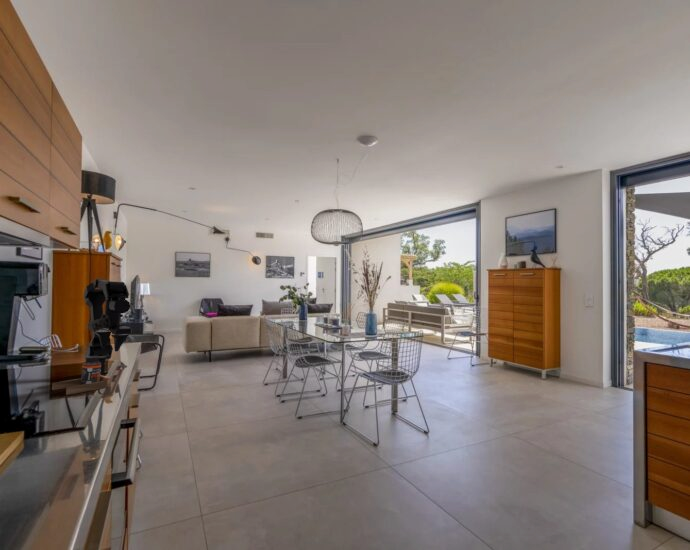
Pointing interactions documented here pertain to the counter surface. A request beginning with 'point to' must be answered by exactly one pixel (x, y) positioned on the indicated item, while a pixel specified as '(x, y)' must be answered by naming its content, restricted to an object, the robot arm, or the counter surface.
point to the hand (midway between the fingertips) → (109, 350)
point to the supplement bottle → (91, 370)
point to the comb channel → (76, 386)
